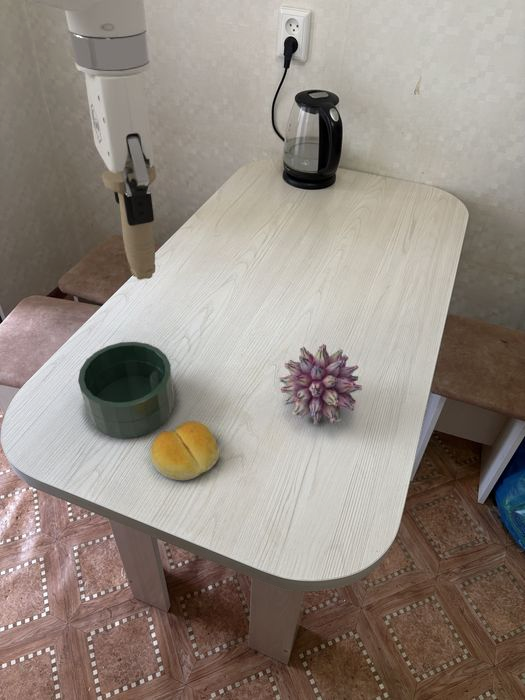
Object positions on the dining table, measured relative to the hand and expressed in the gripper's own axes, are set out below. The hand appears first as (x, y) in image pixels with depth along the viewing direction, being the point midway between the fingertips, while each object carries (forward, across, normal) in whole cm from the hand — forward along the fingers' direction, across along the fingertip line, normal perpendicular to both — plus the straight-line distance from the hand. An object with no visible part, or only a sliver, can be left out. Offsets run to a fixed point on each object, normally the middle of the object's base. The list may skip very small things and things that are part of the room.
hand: (134, 210), depth 64 cm
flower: (+27, +20, +19) cm, 38 cm away
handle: (+10, 0, 0) cm, 10 cm away
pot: (+27, +8, -6) cm, 29 cm away
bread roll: (+27, +19, -2) cm, 33 cm away
